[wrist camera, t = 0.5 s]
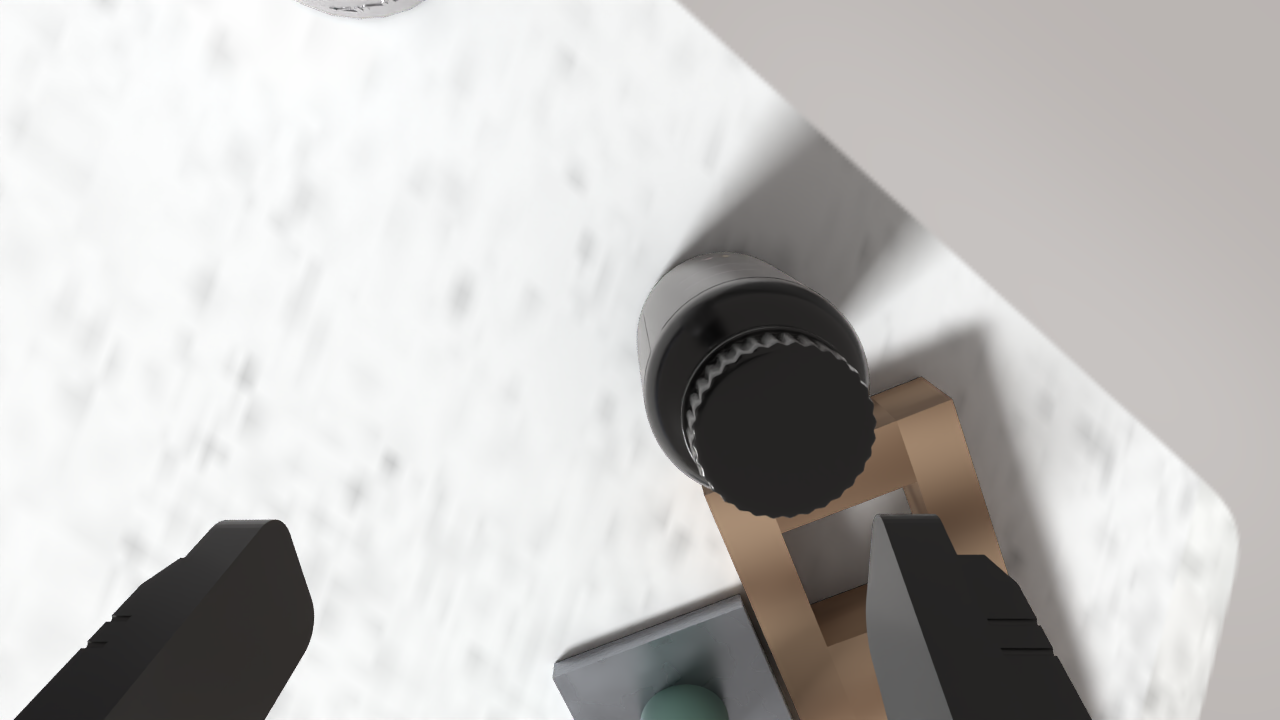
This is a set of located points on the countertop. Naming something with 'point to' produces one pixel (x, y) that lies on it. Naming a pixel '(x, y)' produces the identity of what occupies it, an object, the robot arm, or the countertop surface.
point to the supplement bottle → (755, 385)
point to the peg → (685, 704)
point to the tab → (676, 667)
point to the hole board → (836, 627)
